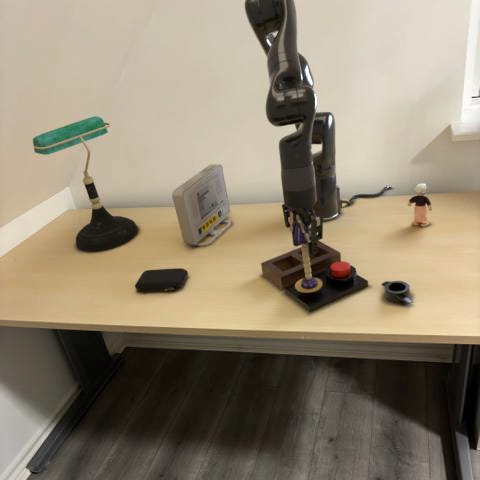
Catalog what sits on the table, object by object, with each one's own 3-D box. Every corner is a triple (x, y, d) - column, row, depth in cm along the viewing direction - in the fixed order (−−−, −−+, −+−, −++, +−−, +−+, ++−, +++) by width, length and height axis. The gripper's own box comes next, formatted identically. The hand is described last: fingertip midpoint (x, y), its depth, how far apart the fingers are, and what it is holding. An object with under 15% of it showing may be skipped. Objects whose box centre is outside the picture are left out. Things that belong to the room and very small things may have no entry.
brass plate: (312, 275, 131) (312, 274, 131) (328, 285, 126) (328, 284, 126) (289, 284, 129) (289, 284, 129) (304, 295, 124) (304, 294, 124)
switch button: (342, 266, 133) (342, 259, 132) (354, 273, 129) (354, 266, 128) (327, 272, 132) (326, 266, 131) (338, 279, 128) (338, 273, 127)
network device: (217, 216, 183) (206, 162, 172) (238, 217, 179) (228, 162, 168) (180, 249, 165) (165, 191, 154) (202, 251, 161) (188, 192, 150)
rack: (262, 275, 142) (260, 263, 140) (318, 252, 148) (317, 240, 146) (282, 290, 134) (280, 277, 132) (341, 265, 140) (340, 252, 138)
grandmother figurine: (434, 222, 152) (436, 182, 145) (430, 227, 149) (432, 187, 142) (408, 220, 156) (409, 180, 149) (404, 225, 153) (405, 185, 146)
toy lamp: (296, 287, 127) (289, 228, 117) (303, 278, 130) (296, 219, 121) (314, 290, 125) (308, 229, 115) (320, 280, 128) (315, 220, 118)
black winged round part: (412, 286, 126) (413, 276, 124) (414, 308, 118) (414, 298, 116) (380, 286, 128) (380, 276, 126) (380, 308, 120) (380, 298, 119)
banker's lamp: (120, 217, 198) (86, 112, 176) (154, 228, 183) (122, 115, 161) (61, 245, 184) (16, 135, 162) (93, 260, 170) (48, 140, 147)
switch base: (339, 269, 138) (339, 258, 136) (368, 286, 129) (367, 274, 127) (284, 293, 133) (283, 281, 131) (310, 312, 124) (308, 300, 122)
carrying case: (133, 296, 145) (180, 293, 141) (130, 287, 143) (178, 284, 140) (145, 277, 153) (190, 274, 150) (142, 268, 152) (188, 265, 148)
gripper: (331, 185, 108) (335, 254, 117) (295, 171, 119) (301, 235, 128) (302, 196, 106) (309, 265, 115) (268, 180, 117) (276, 245, 126)
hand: (305, 249), depth 122 cm, fingers open, 6 cm apart
